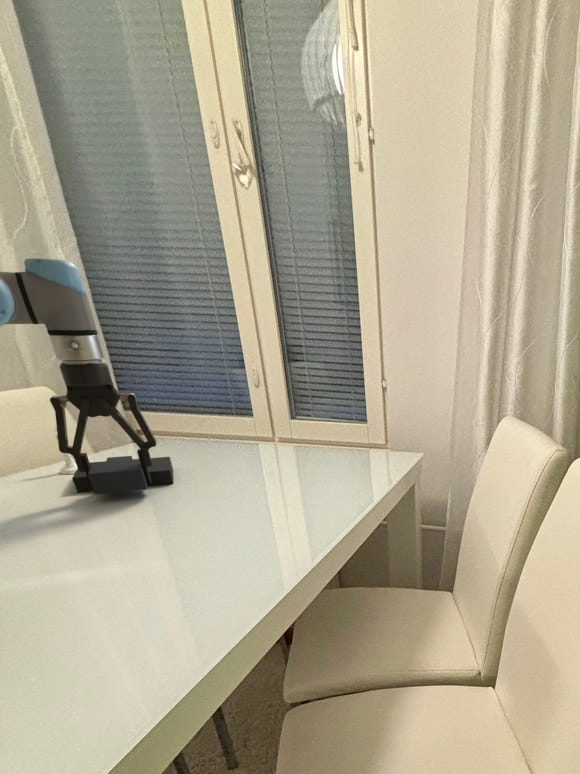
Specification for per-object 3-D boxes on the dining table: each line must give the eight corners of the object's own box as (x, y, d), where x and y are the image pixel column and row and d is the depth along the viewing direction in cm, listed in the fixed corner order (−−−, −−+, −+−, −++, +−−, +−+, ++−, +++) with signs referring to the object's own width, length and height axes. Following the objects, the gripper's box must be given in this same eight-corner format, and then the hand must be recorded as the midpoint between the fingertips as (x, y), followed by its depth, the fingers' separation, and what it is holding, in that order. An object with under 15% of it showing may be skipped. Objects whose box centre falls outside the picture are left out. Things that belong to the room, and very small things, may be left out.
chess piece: (66, 475, 125) (49, 429, 120) (56, 472, 127) (39, 426, 122) (89, 471, 128) (74, 426, 123) (79, 467, 131) (63, 423, 125)
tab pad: (94, 494, 106) (87, 474, 104) (101, 477, 117) (94, 458, 115) (147, 489, 110) (140, 469, 108) (148, 473, 120) (143, 454, 118)
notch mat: (77, 492, 114) (71, 478, 112) (85, 476, 124) (80, 463, 123) (173, 483, 120) (169, 470, 119) (173, 469, 131) (169, 456, 130)
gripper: (4, 364, 93) (55, 496, 104) (149, 362, 101) (181, 484, 113) (14, 361, 98) (61, 486, 110) (150, 359, 107) (180, 475, 118)
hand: (122, 485), depth 111 cm, fingers closed on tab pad, 9 cm apart
